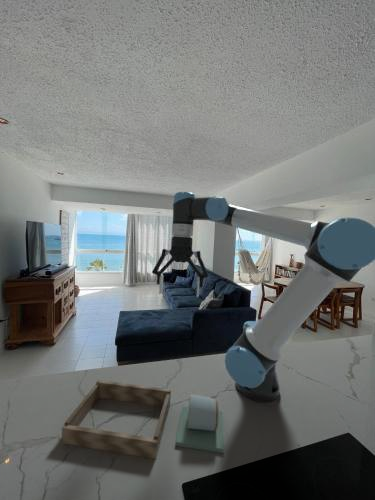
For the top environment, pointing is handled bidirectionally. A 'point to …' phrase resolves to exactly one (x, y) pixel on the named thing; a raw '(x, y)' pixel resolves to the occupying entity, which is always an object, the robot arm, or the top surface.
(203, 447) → the rubber mat
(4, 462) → the top surface
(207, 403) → the ceramic mug
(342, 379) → the top surface
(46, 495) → the top surface
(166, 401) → the open wooden box frame
